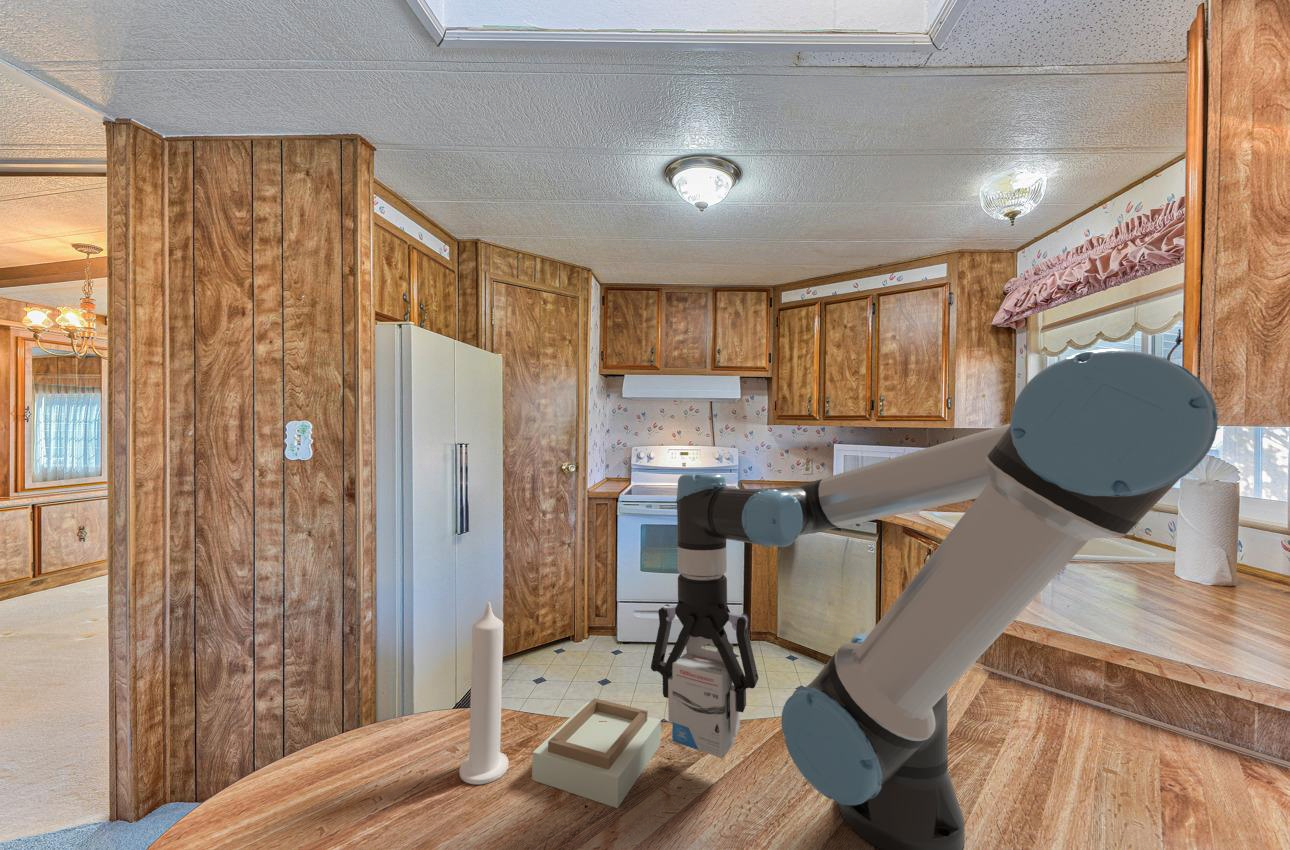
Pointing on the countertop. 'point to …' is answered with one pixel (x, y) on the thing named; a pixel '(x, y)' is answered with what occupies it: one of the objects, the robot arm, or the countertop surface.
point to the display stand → (598, 751)
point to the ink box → (702, 700)
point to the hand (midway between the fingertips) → (703, 725)
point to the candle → (485, 703)
